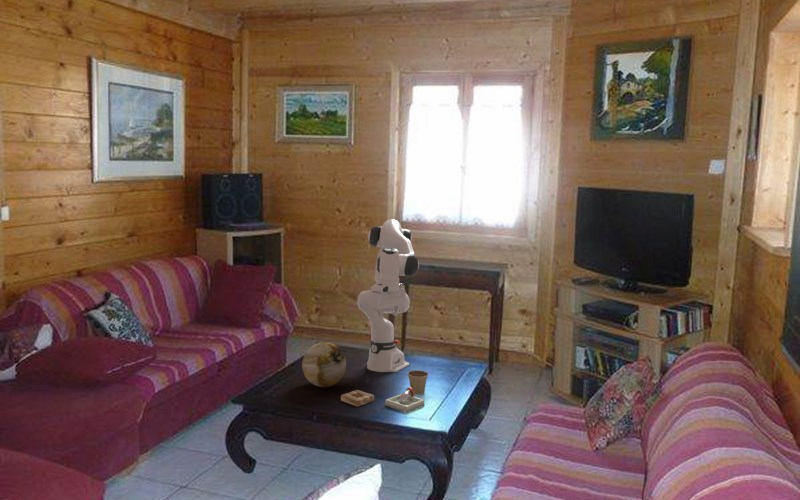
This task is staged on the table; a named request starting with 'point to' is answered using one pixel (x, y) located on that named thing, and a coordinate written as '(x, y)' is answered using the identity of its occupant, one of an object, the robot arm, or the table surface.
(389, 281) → the robot arm
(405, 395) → the pin
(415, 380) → the flower pot
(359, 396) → the block
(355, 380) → the table surface
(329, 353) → the decorative sphere
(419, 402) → the tray
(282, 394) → the table surface
